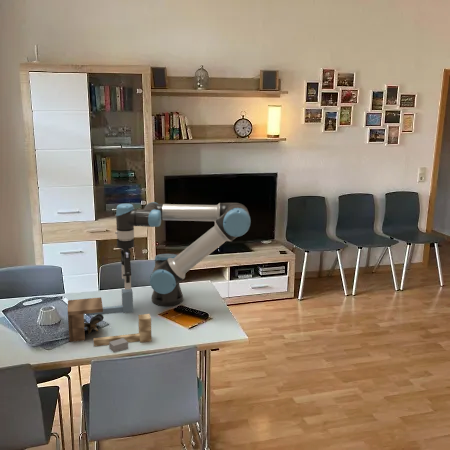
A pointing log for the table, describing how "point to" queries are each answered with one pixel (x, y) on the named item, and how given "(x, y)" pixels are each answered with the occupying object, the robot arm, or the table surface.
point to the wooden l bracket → (81, 316)
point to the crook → (125, 307)
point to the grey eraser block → (118, 345)
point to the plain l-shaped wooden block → (142, 336)
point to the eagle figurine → (93, 323)
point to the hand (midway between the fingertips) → (126, 283)
